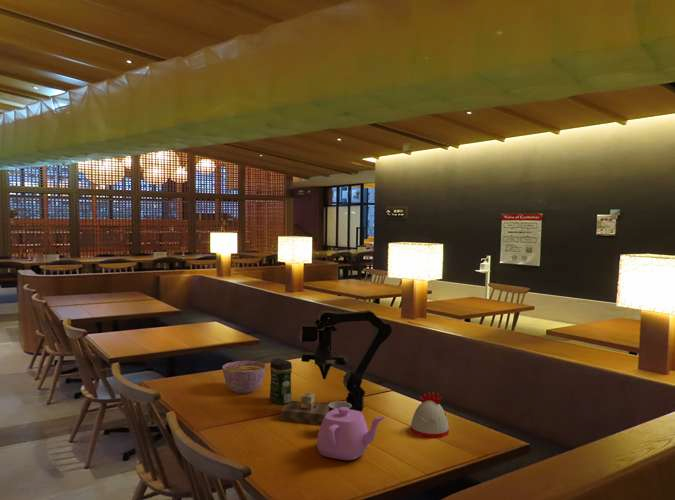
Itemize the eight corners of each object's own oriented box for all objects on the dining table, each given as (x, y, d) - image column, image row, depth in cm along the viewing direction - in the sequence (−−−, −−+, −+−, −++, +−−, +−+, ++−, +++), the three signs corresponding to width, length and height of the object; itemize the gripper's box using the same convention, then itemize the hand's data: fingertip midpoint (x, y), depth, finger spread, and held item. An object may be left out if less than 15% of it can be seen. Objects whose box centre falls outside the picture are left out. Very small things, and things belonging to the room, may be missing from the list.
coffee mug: (334, 438, 191) (335, 410, 191) (323, 429, 199) (324, 403, 198) (362, 432, 196) (363, 406, 196) (351, 425, 204) (351, 399, 204)
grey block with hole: (333, 414, 215) (333, 404, 215) (325, 425, 203) (325, 414, 203) (291, 410, 219) (291, 400, 219) (280, 420, 208) (281, 410, 208)
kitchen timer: (445, 440, 191) (446, 399, 190) (407, 434, 195) (408, 394, 195) (451, 427, 204) (452, 388, 203) (415, 422, 208) (416, 384, 208)
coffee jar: (266, 400, 232) (267, 357, 231) (282, 397, 236) (283, 355, 236) (278, 406, 224) (278, 362, 223) (294, 403, 229) (294, 360, 228)
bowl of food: (275, 389, 247) (275, 364, 247) (245, 400, 230) (245, 374, 230) (242, 382, 258) (243, 358, 257) (212, 392, 241) (212, 367, 240)
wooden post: (314, 416, 213) (314, 393, 213) (311, 419, 209) (311, 397, 208) (304, 415, 214) (304, 392, 214) (300, 418, 210) (301, 396, 209)
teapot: (304, 462, 170) (305, 416, 170) (329, 439, 190) (330, 397, 189) (372, 476, 162) (373, 427, 162) (391, 449, 182) (392, 406, 181)
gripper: (297, 343, 213) (296, 382, 214) (342, 347, 209) (341, 386, 209) (305, 338, 224) (305, 375, 225) (349, 341, 220) (348, 379, 220)
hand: (324, 379), depth 220 cm, fingers closed
